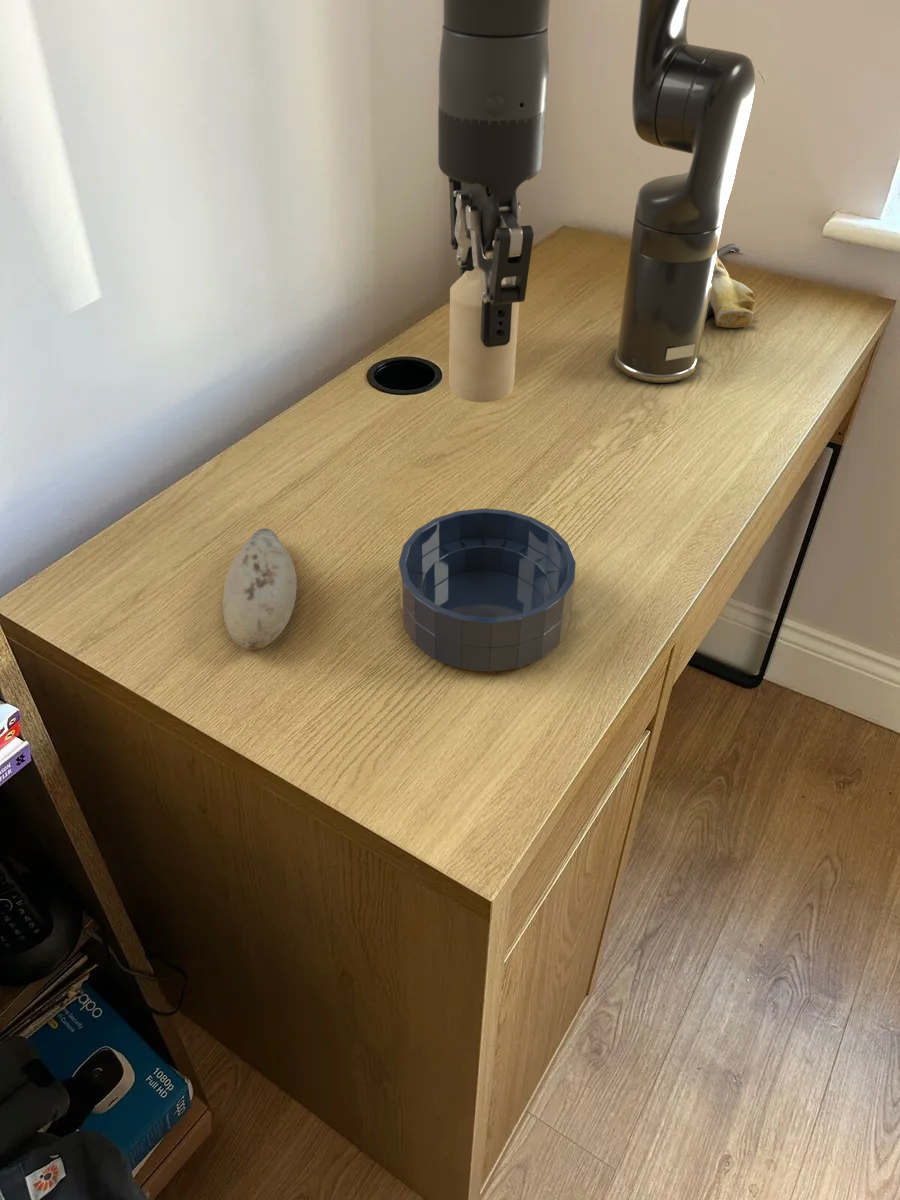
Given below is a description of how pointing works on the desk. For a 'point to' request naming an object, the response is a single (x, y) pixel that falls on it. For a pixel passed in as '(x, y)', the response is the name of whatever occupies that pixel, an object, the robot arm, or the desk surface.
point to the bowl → (486, 589)
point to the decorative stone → (259, 591)
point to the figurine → (730, 299)
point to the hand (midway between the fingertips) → (483, 326)
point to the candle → (477, 346)
